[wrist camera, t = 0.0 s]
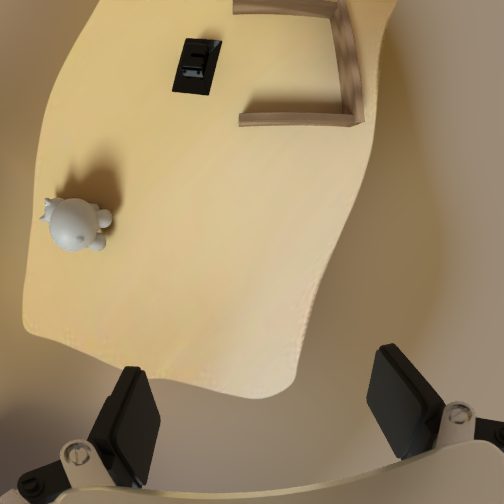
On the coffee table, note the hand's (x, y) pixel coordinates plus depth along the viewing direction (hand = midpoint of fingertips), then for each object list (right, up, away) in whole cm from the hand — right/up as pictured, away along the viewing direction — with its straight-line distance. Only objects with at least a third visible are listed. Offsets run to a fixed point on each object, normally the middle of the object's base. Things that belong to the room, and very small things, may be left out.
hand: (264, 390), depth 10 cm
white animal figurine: (-26, +11, +28) cm, 40 cm away
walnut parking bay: (+5, +32, +24) cm, 41 cm away
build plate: (-8, +32, +24) cm, 41 cm away
